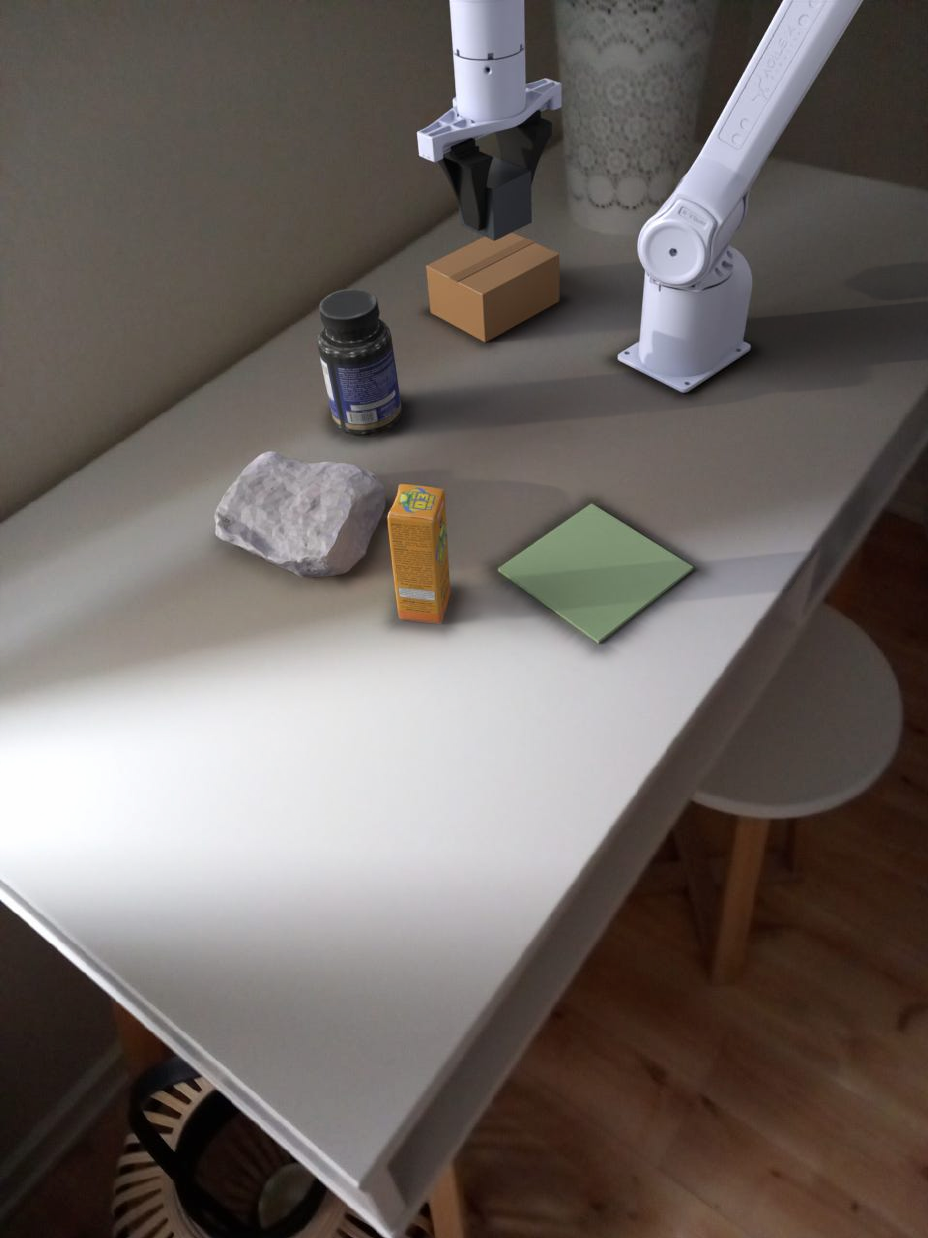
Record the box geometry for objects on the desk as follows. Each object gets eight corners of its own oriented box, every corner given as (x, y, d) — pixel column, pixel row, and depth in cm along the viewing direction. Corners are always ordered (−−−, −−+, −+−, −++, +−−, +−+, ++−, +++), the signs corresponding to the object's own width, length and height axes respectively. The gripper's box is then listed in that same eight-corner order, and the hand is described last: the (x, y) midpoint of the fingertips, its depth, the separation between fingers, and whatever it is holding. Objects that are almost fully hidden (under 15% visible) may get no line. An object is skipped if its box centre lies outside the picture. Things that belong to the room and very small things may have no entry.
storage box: (504, 273, 100) (502, 226, 97) (559, 301, 96) (560, 252, 92) (430, 312, 96) (425, 265, 92) (484, 343, 92) (482, 294, 88)
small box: (497, 207, 90) (495, 156, 86) (532, 222, 87) (531, 170, 84) (460, 225, 88) (456, 173, 84) (494, 241, 85) (492, 188, 82)
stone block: (351, 602, 73) (396, 498, 77) (333, 565, 69) (382, 458, 73) (214, 574, 76) (265, 477, 81) (190, 538, 72) (245, 437, 77)
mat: (591, 505, 76) (591, 503, 75) (693, 569, 70) (693, 566, 70) (497, 571, 71) (497, 568, 71) (598, 644, 66) (598, 641, 66)
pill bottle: (416, 408, 86) (402, 293, 77) (375, 446, 82) (356, 331, 74) (360, 389, 88) (341, 276, 80) (318, 426, 85) (294, 312, 77)
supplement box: (445, 626, 68) (433, 520, 61) (398, 621, 69) (380, 515, 61) (455, 592, 70) (445, 485, 63) (409, 587, 71) (393, 481, 64)
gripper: (520, 12, 82) (523, 175, 92) (386, 63, 76) (405, 230, 86) (580, 29, 78) (577, 197, 88) (444, 83, 72) (457, 256, 82)
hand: (496, 215), depth 87 cm, fingers closed on small box, 4 cm apart
